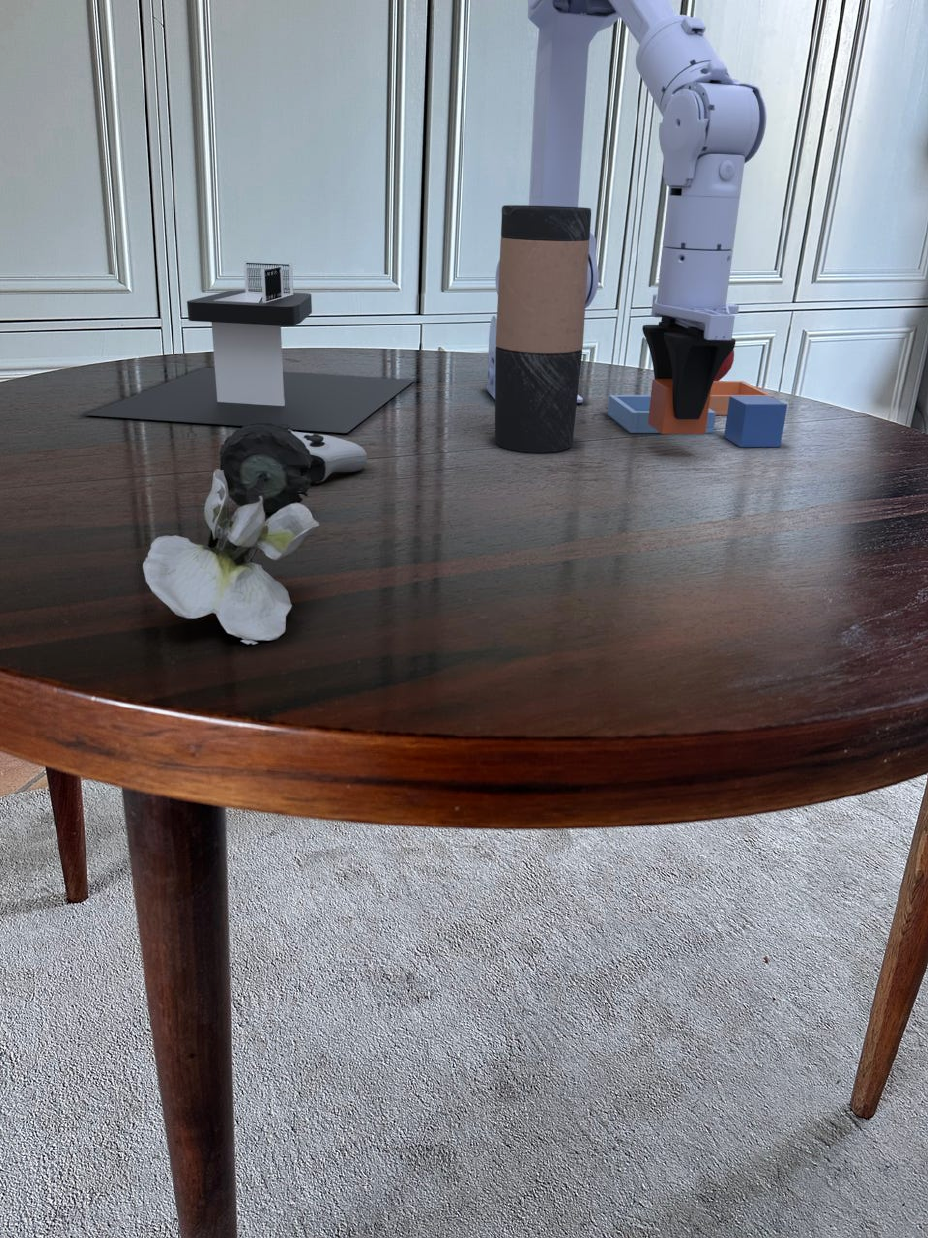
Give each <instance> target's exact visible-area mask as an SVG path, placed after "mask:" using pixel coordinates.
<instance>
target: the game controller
mask: <svg viewBox="0 0 928 1238" xmlns="http://www.w3.org/2000/svg"><path fill="white" fill-rule="evenodd" d="M278 426H279V427H280V426H281V427H282V428H284V429H286V430H288V431H290V432H291V433H292V434H294V435H295V436H296V437H297V438H299V439H300V440H301V441H302V442H303V443H304V444H305V446H306V448H307V449H308V450H309V451H310V455H311V456H312V458H313V459H314V460H313V461H312V462H311V466H310V468H308V467H304V468H300V469H299V471H300V473H303V474H306V475H307V474H308V473H309V474H310V475H311V476H310V479H311V480H312V481H311V484H318V483H322V482H324V481H325V480H327V478H328V477H329V476H330V475H332V473H355V472H358V471H360V470H362V469H364V467H365V466H366V464H367V461H368V455H367V452H366V451H365V449H364V448H363V447H362V446H361V445H359V444H357V443H355V442H352V441H349V440H347V439H342V438H339V437H336V436H331V435H326V434H319V433H309V432H299V431H293V430H292V429H290V425H288V424H280V425H278Z"/></svg>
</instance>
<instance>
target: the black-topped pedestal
mask: <svg viewBox="0 0 928 1238" xmlns="http://www.w3.org/2000/svg"><path fill="white" fill-rule="evenodd" d="M255 267H257V268H255ZM262 267H264V268H262ZM271 267H272V268H271ZM287 268H288V269H287ZM284 271H285V272H284ZM254 272H255V273H254ZM243 273H244V274H243V275H244V289H243V290H241V289H239V290H227V291H224V292H219V293H214V294H211V295H210V294H209V295H207V296H202V297H199V298H194V299H190V300H187V301H186V305H187V306H186V308H187V319H188V321H189V322H198V323H199V322H200V323H210V324H211V333H212V349H213V362H214V367H202V368H199V369H198V370H195V371H192V372H190V373H187V374H185V375H182V376H179V377H177V378H174V379H172V380H170V381H167V382H165V383H162V384H159V385H156V386H154V387H152V388H150V389H149V388H148V389H147V390H145V391H141V392H139V393H136V394H134V395H132V396H129V397H126V398H123V399H121V400H118V401H116V402H114V403H111V404H109V405H106V406H104V407H101V408H99V409H95V410H94V411H91V412H89V413H86V414H85V416H92V417H93V416H95V417H107V418H109V417H110V418H123V419H138V420H149V421H150V420H151V421H166V422H182V423H196V424H208V425H209V424H210V425H224V426H237V427H239V426H240V427H243V426H246V425H250V424H254V423H271V424H274V425H277V426H278V425H280V424H288V425H290V429H289V430H296V431H297V430H298V431H299V430H300V431H310V432H311V431H312V432H326V433H340V434H348V433H349V432H350V431H351V430H353V429H354V428H355V427H357V426H358V425H359V424H360V423H362V422H363V421H365V420H366V419H367V418H368V417H369V416H371V415H372V414H373V413H374V412H376V411H377V410H379V409H380V408H381V407H382V406H384V405H385V404H386V403H388V402H389V401H390V400H391V399H392V398H394V397H395V396H396V395H398V394H399V393H400V392H401V391H403V390H404V389H405V388H407V387H408V386H409V385H411V384H412V383H413V382H414V381H415V379H404V378H403V379H402V378H385V377H384V378H383V377H367V376H353V375H352V376H351V375H336V374H335V375H334V374H319V373H317V374H316V373H301V372H284V361H283V341H282V327H293V326H297V325H299V324H302V323H303V321H304V320H306V319H307V318H308V317H309V316H310V315H311V314H312V313H313V303H312V302H313V300H312V299H313V298H312V293H309V292H294V279H293V278H294V276H293V263H292V262H289V263H288V264H285V263H284V264H283V263H260V262H248V260H243ZM286 274H287V277H286ZM256 276H257V277H256ZM249 277H250V278H249ZM288 279H289V282H288ZM258 280H259V282H258ZM251 281H252V282H251ZM253 285H254V286H253ZM260 285H261V286H260ZM258 289H260V290H258ZM288 290H289V291H288Z"/></svg>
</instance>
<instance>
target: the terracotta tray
mask: <svg viewBox="0 0 928 1238" xmlns="http://www.w3.org/2000/svg"><path fill="white" fill-rule="evenodd" d="M729 396H771V397H773V398H775V395H773V394H771V393H770V392H767V391H764V390H763V389H760V388H758V387H756V386H754V385H752V384H750V383H748V382H746V381H745V380H739V381H738V380H719V381H714V382H713V384H712V387H711V395H710V403H709V409H711V410H713V411H714V412H716V416H727V411H728V404H729Z"/></svg>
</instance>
